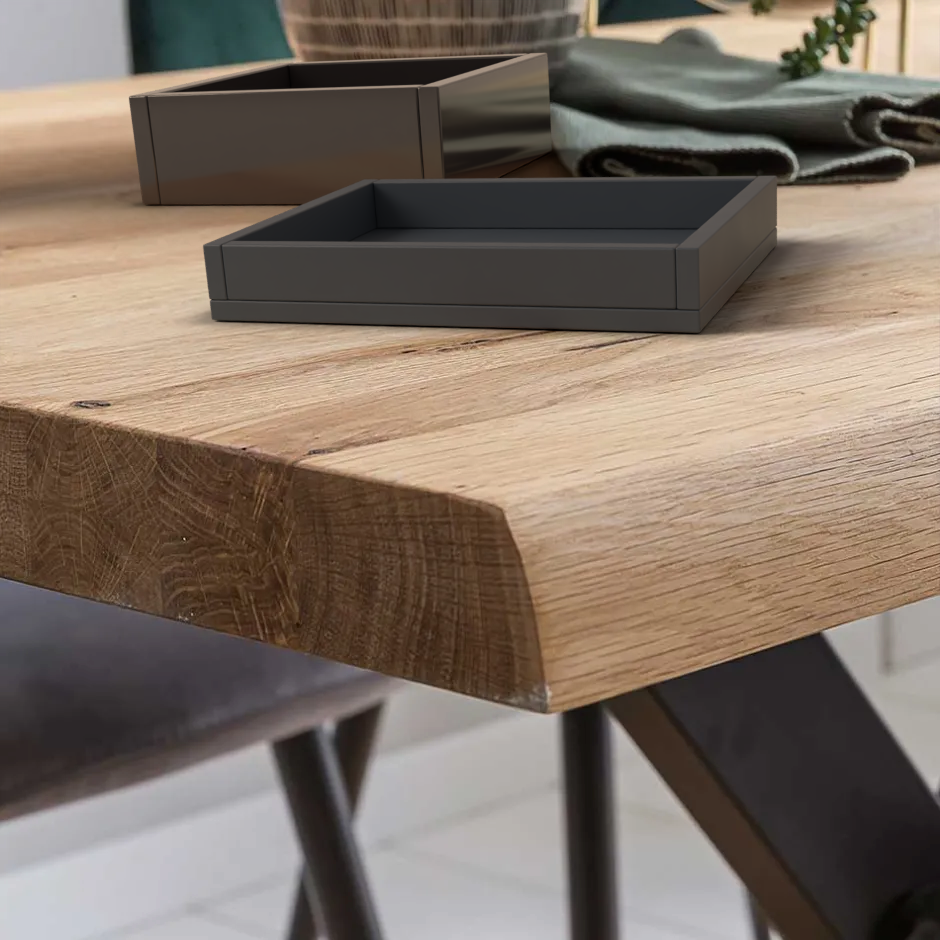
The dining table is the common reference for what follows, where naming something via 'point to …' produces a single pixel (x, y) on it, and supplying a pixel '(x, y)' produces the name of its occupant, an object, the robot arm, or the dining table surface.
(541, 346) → the dining table surface
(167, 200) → the open square box
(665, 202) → the tray
